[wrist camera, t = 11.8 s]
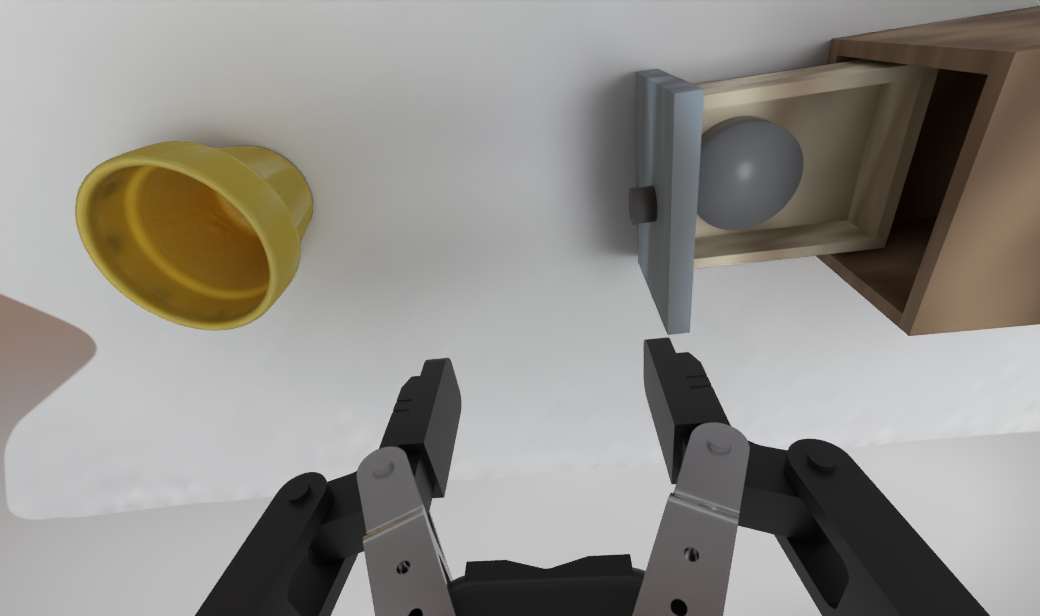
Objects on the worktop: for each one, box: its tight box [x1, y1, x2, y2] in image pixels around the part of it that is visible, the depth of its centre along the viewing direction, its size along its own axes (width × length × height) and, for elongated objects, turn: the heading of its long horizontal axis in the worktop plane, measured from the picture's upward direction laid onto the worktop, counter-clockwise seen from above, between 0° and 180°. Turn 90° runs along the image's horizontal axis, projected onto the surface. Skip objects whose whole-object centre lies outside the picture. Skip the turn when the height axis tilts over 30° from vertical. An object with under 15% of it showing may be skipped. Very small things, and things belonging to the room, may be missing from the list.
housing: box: [816, 6, 1040, 336], centre depth 24 cm, size 14×12×12 cm
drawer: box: [629, 59, 939, 335], centre depth 25 cm, size 15×12×9 cm
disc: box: [697, 116, 804, 230], centre depth 28 cm, size 6×6×2 cm
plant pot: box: [75, 141, 313, 330], centre depth 28 cm, size 10×10×10 cm
